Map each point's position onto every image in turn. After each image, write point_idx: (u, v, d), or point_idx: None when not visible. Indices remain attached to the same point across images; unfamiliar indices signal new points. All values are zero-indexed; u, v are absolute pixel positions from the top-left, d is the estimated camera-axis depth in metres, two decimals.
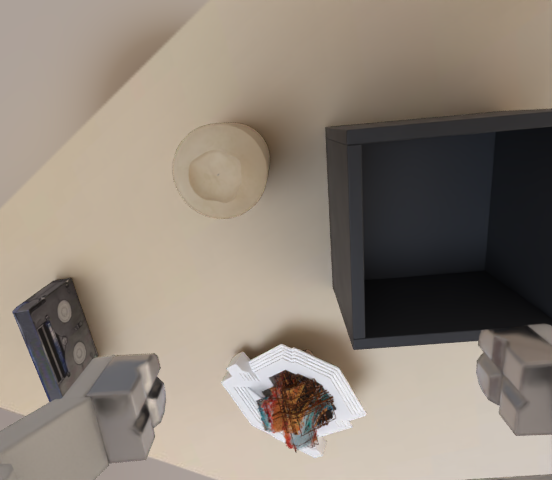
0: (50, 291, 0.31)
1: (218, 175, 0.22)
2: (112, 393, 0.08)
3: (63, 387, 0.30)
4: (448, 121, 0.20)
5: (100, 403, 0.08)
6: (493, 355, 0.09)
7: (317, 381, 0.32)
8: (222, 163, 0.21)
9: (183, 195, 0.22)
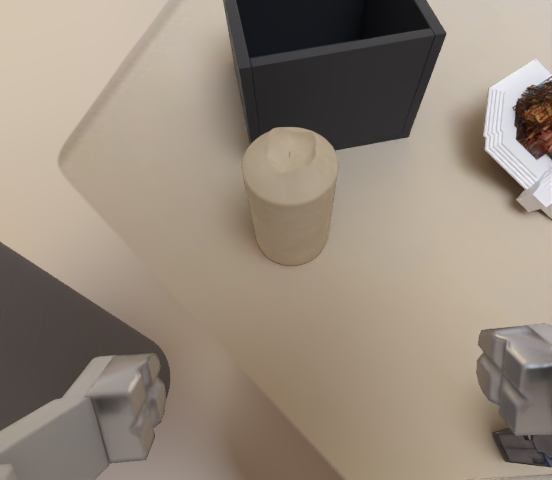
0: (517, 436, 0.20)
1: (290, 156, 0.21)
2: (112, 393, 0.08)
3: None
4: (228, 17, 0.27)
5: (100, 403, 0.08)
6: (493, 355, 0.09)
7: (515, 104, 0.29)
8: (277, 153, 0.21)
9: (317, 189, 0.21)
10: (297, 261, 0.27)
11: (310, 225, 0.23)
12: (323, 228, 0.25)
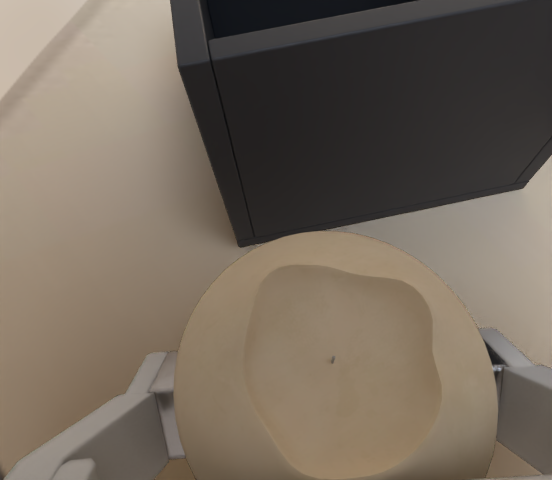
0: None
1: (336, 361, 0.06)
2: None
3: None
4: None
5: (164, 399, 0.08)
6: None
7: None
8: (290, 348, 0.06)
9: None
10: None
11: None
12: None
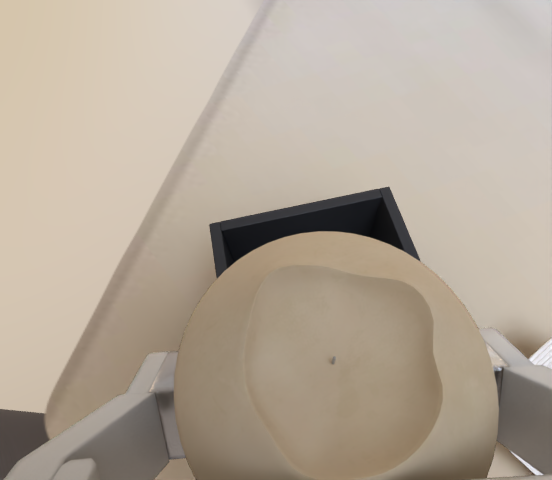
0: None
1: (336, 362, 0.06)
2: None
3: None
4: None
5: (164, 399, 0.08)
6: None
7: None
8: (291, 348, 0.06)
9: None
10: None
11: None
12: None
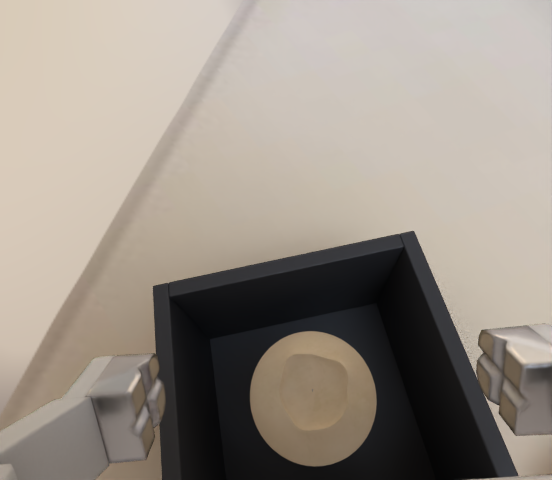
0: None
1: (313, 390, 0.16)
2: (112, 393, 0.08)
3: None
4: (163, 471, 0.15)
5: (100, 403, 0.08)
6: (493, 355, 0.09)
7: None
8: (296, 385, 0.16)
9: (350, 446, 0.15)
10: None
11: None
12: None
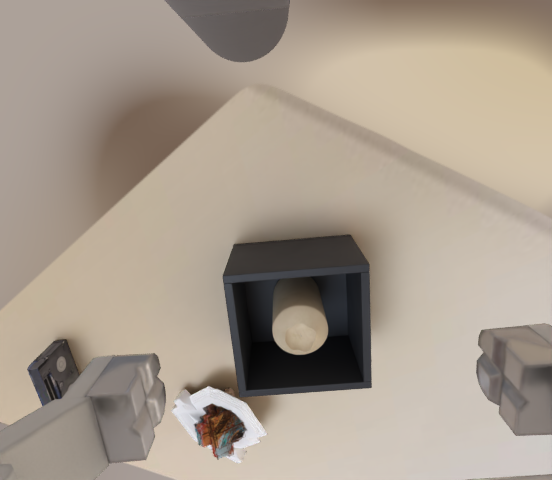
0: (51, 352, 0.46)
1: (300, 334, 0.37)
2: (112, 393, 0.08)
3: None
4: (280, 271, 0.35)
5: (100, 403, 0.08)
6: (493, 355, 0.09)
7: (232, 411, 0.47)
8: (303, 328, 0.37)
9: (278, 342, 0.38)
10: None
11: None
12: None
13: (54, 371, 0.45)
